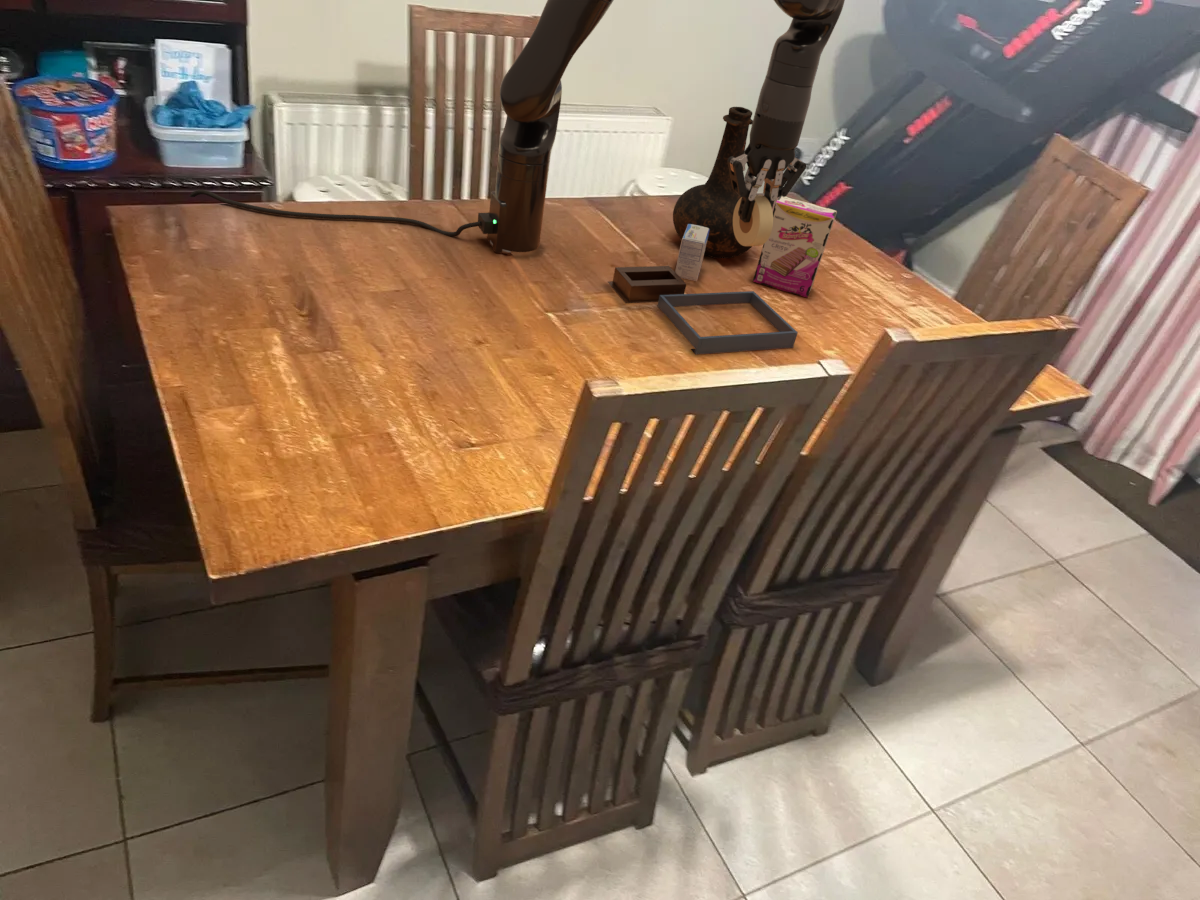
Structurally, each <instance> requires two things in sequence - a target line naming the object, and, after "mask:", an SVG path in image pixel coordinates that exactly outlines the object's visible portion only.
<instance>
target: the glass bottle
mask: <svg viewBox="0 0 1200 900" xmlns="http://www.w3.org/2000/svg"><path fill="white" fill-rule="evenodd" d="M752 116H753V111H752V110H750V109H749V108H746V107H744V106H731V107H728V114H725V115H723V116H722V120H723V122H725V127H724V130H723V134H722V137H721V141H720V145H719V149H718V152H717V155H716V158H715V160H714V164H713V167H712V168H711V169H712V170H711V172H710V174H709V176H708V179H707V180H706V182H705V183H704V184H698V185H694V186H693V187H690V188H688V189H687V190H685V191H683V193H682V194H681V195H680V196H679V197H678V199H677V200H676V202H675V204H674V207H673V211H672V223H673V227H674V230H675V232H676V235H677V236H678V238H679V240H680V241H682V238H683V236H684V233H685V231H686V228H687V225H688V224H693V225H698V226H703V227H707V228H709V229H710V230H709V235H708V239H707V244H706V248H705V252H704V256H707V257H712V258H713V259H731V258H735V257H738V256H741V255H742V254H745V253H746V252H748V251H749V250H751V249H752V248H753V246H743V245H741V244H740V243H739V242H738V241H737V239H736V237H735V234H734V230H733V214H734V210H735V207H736V204H737V202H738V201H739V199H740V198H741V196H740V195H739V194H738V193H736V192H735V191H733V189H732V183H731V178H730V172H729V167H728V162H727V161H728V158H729V157H731V156H733V157H734V158H736V157H738V156H741V155H743V154H744V151H745V149H746V146H747V139H748V133H749V129H750V125H751V126H752V123H753V119H752Z"/></svg>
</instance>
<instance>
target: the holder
mask: <svg viewBox="0 0 1200 900" xmlns="http://www.w3.org/2000/svg"><path fill="white" fill-rule="evenodd" d="M613 271H614V272H613V277H612V280H611V281H610V280H609V281H607V283H608V285H609V286H610V287H611V288H612V289H613V291H614V292H615V293H616V294H617V295H618V296H619V298H620V299H621V300H622V301H623V303H624V304H642V303H643V304H645V303H647V304H649V303H658V300H659V296H660V295H674V294H686V287H687V283H686V282H685V281H684V279H683V278H680V277H679V276H678V275H677V274H676V273H675V270H674V269H673V268H672V267H671V266H670V265H649V266H647V265H646V266H616V267H614V270H613Z"/></svg>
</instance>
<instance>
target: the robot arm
mask: <svg viewBox="0 0 1200 900" xmlns="http://www.w3.org/2000/svg"><path fill="white" fill-rule="evenodd" d="M613 2H614V0H546V2H545V5H544V7H543V10H542V12H541V15H540V16H539V19H538V22H537V24H536V26H535V28H534V30H533V32H532V33H531V35H530V37H529V39H528V40H527V42H526V43H525V45H524V46H523V48H522V50H521V51H520V53H519V55H518V56H517V57H516V59H515V61H514V62H513V64H511V66H510V67H509V69H508V70H507V72H506V73H505V74H504V76H503V78H502V80H501V83H500V86H499V101H500V105H501V108H502V110H503V112H504V114H505V115H506V119H505V123H504V128H503V130H502V132H501V135H500V137H499V143H498V155H497V165H496V175H495V185H494V187H495V188H494V190H492V191H491V192H490V201H489V212H477V213H478V215H477V221H475V222H474V221H473V222H469V223H465V224H462V225H460V226H459V227H458V228H457V229H456V231H446V230H442V229H440V228H438V227H435V226H434V225H431V224H429V223H427V222H424V221H420V220H417V219H414V218H413V219H412V218H407V217H406V218H405V217H397V216H385V215H384V216H382V215H380V216H379V215H366V214H365V215H364V214H362V215H361V214H337V213H336V214H335V213H316V212H315V213H314V212H301V211H291V210H283V209H275V208H268V207H262V206H257V205H253V204H249V203H244V202H241V201H235V200H232V199H228V198H225V197H223V196H220V195H218V194H216V193H214V192H213V191H210V190H206V189H196V190H194V191H192V192H191V193H190V194H189V195H188V196H189V197H190V198H195V197H196V196H199V195H205V196H208V197H210V198H212V199H214V200H216V201H219V202H220V203H223V204H226V205H229V206H235V207H238V208H243V209H247V210H251V211H256V212H260V213H266V214H272V215H277V216H286V217H296V218H297V217H298V218H310V219H325V220H326V219H327V220H353V221H354V220H356V221H374V222H375V221H376V222H392V223H393V222H394V223H403V224H404V223H405V224H410V225H416V226H420V227H422V228H425V229H428V230H429V231H433V232H434V233H435V232H436V233H438V234H440V235H444V236H446V237H453V238H454V237H458V236H459V235H461V233H462V232H463V231H465V230H466V229H470V228H476V227H478V228H479V229H480V231H481V232H482V234H483V235H486V240H487V242H488V244H489V245H490V247H491V248H492V250H493V251H494V252H495V253H496V254H505V255H509V256H513V253H530V252H533V251H536V250H537V249H538V248H539V247H540V244H541V236H542V227H543V219H544V212H545V203H546V197H547V196H546V194H547V187H548V180H549V179H548V178H549V171H550V164H551V163H550V162H551V156H552V151H553V147H554V144H555V140H556V138H557V137H556V136H557V132H558V131H557V130H558V124H559V119H560V118H559V117H560V111H561V103H562V94H563V85H562V78H563V76H564V73H565V71H566V70H567V68H568V66H569V63H571V61H572V58H573V57H574V55H575V54H576V53H577V52H578V50H579V49H580V48H581V46H582V45H583V44H584V43H585V42H586V40H587V39H588V38H589V37H590V35H591V34H592V33H593V31H594V30H595V28H597V26H598V24H599V23H600V22H601V20H602V19H603V18H604V16H605V15H606V13H607V11H608V10H609V9H610V7H611V5H612V4H613ZM773 2H774V4H775V5H776V6H777V7H778V9H779V10H781V11H782V12H783V13H784V14H786V16H788V17H789V18H791V22H790V25H789V27H788V29H787V30H786V31H785V32H784V33H783V34H781V35H780V36H779V37H778V38H777V39H776V40H775V42H774V44H773V47H772V51H771V54H770V58H769V61H768V65H767V70H766V74H765V78H764V80H763V83H762V85H761V88H760V91H759V95H758V99H757V102H756V103H757V104H756V107H755V111H754V115H753V119H752V120H753V123H752V124H751V128H750V130H749V143H748V145H747V147H745V151H744V154H743V155H741V156H738V157H736V158H734V157H733V156H731V157H729V158H728V161H727V162H728V167H729V172H730V178H731V183H732V189H733V191H735V192H736V193H738V194H739V195H740V196H741V197H742V199H741V203H740V207H739V211H738V215H739V216H740V219H741V220H742V221H743V222H750V218H751V215H752V211H753V207H754V203H755V201H754V199H755V197H756V195H758V191H759V189H760V188H761V187H763V190H762V195H763V196H765V197H766V198H767V199H768V200H769V202H770V204H771V207H772V209H774V205H775V202H776V201H777V200H778V198H779V197H781V196H782V197H785V196H786V197H788V194H789V193H790V192H791V190H792V188H793V187H794V186H795V184H796V183H797V181H798V180H799V179H800V178H801V176H802V175H803V173H804V172H805V170H806V169H807V164H806V163H805V162H803V160H801V159H799V158H798V157H796V151H795V149H796V148H797V147H798V145H799V144H800V143H799V142H800V139H801V136H802V132H803V128H804V126H805V121H806V117H807V114H808V110H809V107H810V103H811V100H812V99H811V97H812V91H813V87H814V83H815V79H816V75H817V72H818V69H819V64H820V60H821V56H822V54H823V51H824V49H825V47H826V45H827V44H828V42H829V40H830V38H831V36H832V34H833V31H834V30H835V27H836V26H837V23H838V21H839V19H840V16H841V14H842V11H843V9H844V5H845V2H846V0H773ZM746 166H747V169H746ZM745 171H746V172H745ZM744 172H745V173H744Z"/></svg>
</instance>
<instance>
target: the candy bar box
mask: <svg viewBox="0 0 1200 900" xmlns="http://www.w3.org/2000/svg"><path fill="white" fill-rule="evenodd" d="M772 211H773V227H772V231H771V234H770V236H769V238H768V240H767V241H766V242H765V243H764V244H763V245H762V248H761V252H760V255H759V258H758V262H757V265H756V269H755V272H754V274H753V275H754V276H753V279H752V282H753V283H755V284H756V283H757V284H759V285H763V286H767V287H770V288H773V289H777V290H780V291H783V292H786V293H789V294H794V295H797V296H799V297H803V298H809V295H810V293H811V291H812V289H813V287H814V283H815V280H816V277H817V273H818V271H819V267H820V265H821V261H822V258H823V256H824V252H825V249H826V246H827V243H828V240H829V237H830V234H831V231H832V228H833V226H834V222H835V219H836V216H837V214H838V211H837V210H835V209H832V208H829V207H825V206H822V205H818V204H814V203H811V202H806V201H803V200H800V199H797V198H793V197H790V196H785V197H782V196H781V197H778V198H777V199H776V200H775V202H774V205H773V209H772Z"/></svg>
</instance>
